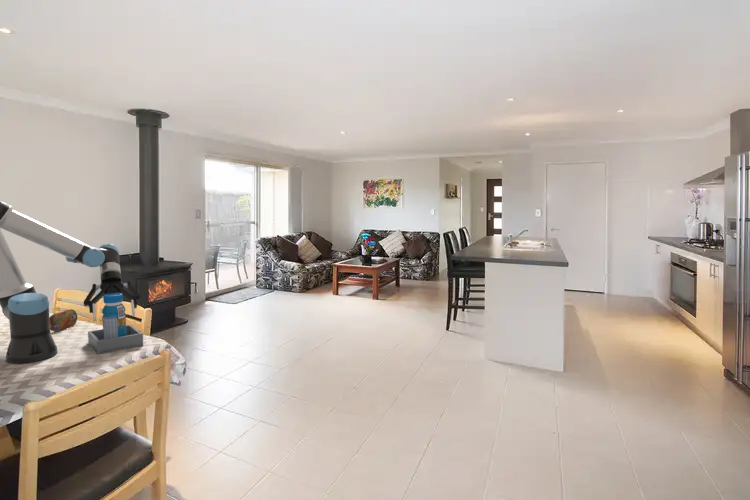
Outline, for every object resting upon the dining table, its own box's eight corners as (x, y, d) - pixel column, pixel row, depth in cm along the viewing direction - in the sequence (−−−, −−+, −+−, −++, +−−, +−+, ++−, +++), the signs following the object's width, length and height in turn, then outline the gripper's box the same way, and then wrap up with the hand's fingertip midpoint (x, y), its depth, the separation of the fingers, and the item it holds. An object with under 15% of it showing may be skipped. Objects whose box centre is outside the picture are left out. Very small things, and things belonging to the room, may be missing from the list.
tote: (143, 345, 174) (142, 333, 173) (97, 354, 163) (97, 341, 162) (131, 335, 187) (130, 324, 186) (88, 343, 176) (87, 331, 175)
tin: (54, 333, 189) (53, 315, 188) (47, 333, 189) (46, 315, 188) (78, 324, 204) (77, 307, 203) (72, 324, 204) (71, 307, 203)
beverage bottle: (103, 346, 169) (101, 297, 167) (103, 340, 176) (100, 293, 174) (128, 342, 174) (125, 295, 172) (126, 337, 181) (124, 291, 179)
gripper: (143, 278, 192) (148, 317, 181) (76, 282, 178) (77, 325, 167) (143, 267, 187) (149, 307, 177) (75, 272, 173) (76, 315, 162)
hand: (114, 316), depth 172 cm, fingers open, 13 cm apart
